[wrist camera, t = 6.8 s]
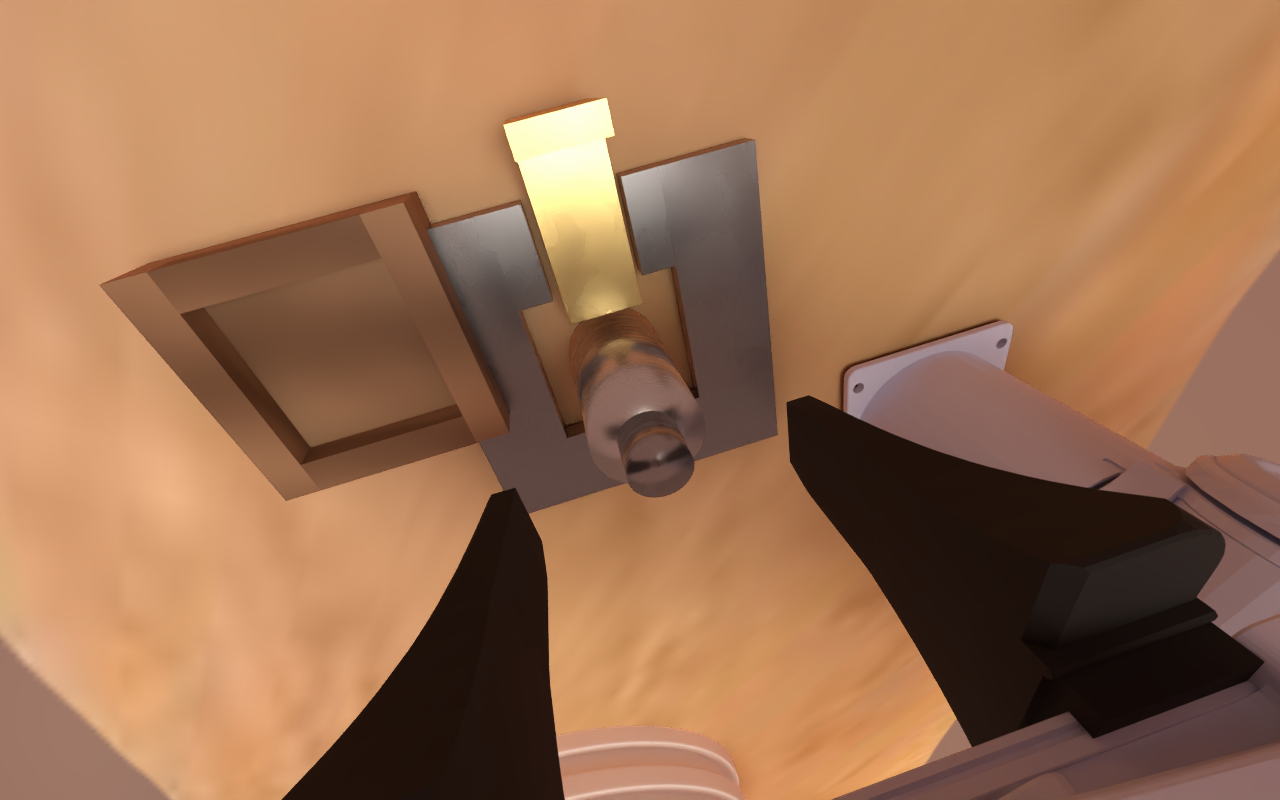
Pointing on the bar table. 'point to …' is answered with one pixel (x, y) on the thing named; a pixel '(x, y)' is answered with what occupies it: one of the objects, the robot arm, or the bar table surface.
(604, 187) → the golden l-shaped block
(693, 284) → the socket collar
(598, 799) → the plate stack
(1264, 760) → the robot arm
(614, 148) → the bar table surface
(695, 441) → the peg
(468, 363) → the square wooden tray
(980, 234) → the bar table surface
